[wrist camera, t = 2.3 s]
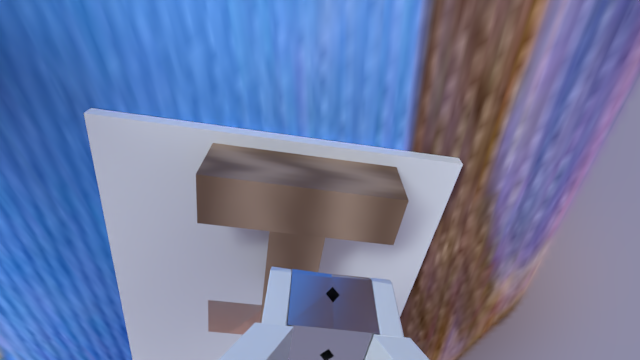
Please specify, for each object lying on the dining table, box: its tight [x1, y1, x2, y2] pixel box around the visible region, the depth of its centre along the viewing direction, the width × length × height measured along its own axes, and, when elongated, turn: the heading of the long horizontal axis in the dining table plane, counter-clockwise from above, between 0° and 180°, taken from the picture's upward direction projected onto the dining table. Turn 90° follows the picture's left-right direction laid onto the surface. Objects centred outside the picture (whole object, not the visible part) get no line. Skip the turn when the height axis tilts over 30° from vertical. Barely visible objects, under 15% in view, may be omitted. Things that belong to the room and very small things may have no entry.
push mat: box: [84, 108, 463, 360], centre depth 37 cm, size 28×38×1 cm
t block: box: [196, 143, 409, 322], centre depth 30 cm, size 14×14×4 cm
